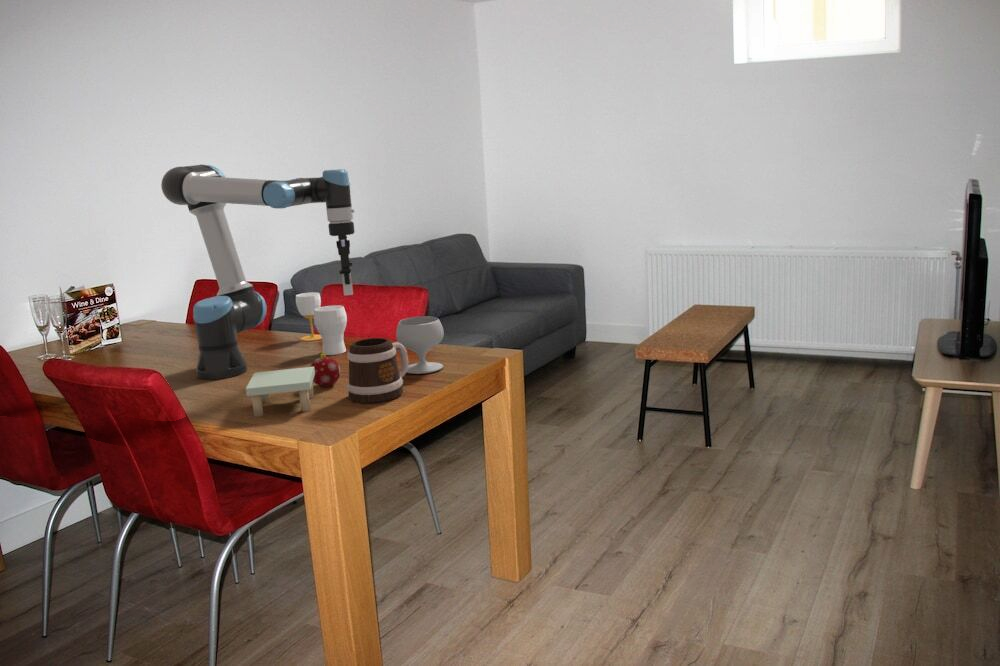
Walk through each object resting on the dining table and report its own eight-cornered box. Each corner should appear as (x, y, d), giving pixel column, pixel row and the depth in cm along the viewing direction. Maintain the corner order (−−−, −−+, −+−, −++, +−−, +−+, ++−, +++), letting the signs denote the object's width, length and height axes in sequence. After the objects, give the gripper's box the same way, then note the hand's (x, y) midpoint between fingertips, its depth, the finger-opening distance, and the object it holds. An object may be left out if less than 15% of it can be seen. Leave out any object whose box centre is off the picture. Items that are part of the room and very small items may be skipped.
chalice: (391, 375, 249) (386, 325, 246) (413, 362, 262) (408, 315, 259) (434, 376, 244) (429, 326, 241) (454, 363, 257) (450, 315, 253)
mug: (373, 407, 219) (367, 351, 216) (336, 399, 229) (330, 345, 226) (428, 387, 234) (423, 334, 230) (391, 380, 243) (386, 329, 240)
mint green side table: (249, 418, 218) (245, 388, 216) (258, 400, 233) (254, 372, 231) (313, 411, 219) (309, 382, 218) (317, 394, 235) (314, 366, 233)
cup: (333, 357, 275) (327, 312, 272) (311, 354, 282) (305, 310, 278) (357, 350, 283) (352, 306, 280) (335, 347, 290) (330, 304, 287)
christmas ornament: (315, 382, 247) (311, 349, 245) (344, 380, 247) (340, 347, 245) (308, 391, 239) (303, 356, 237) (338, 389, 239) (334, 354, 236)
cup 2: (322, 340, 302) (317, 295, 299) (297, 341, 302) (291, 297, 299) (328, 334, 311) (322, 291, 307) (303, 336, 311) (298, 293, 308)
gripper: (354, 224, 244) (361, 296, 248) (352, 217, 268) (359, 283, 272) (327, 226, 242) (335, 299, 247) (328, 219, 266) (336, 286, 271)
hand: (348, 291), depth 260 cm, fingers open, 13 cm apart
